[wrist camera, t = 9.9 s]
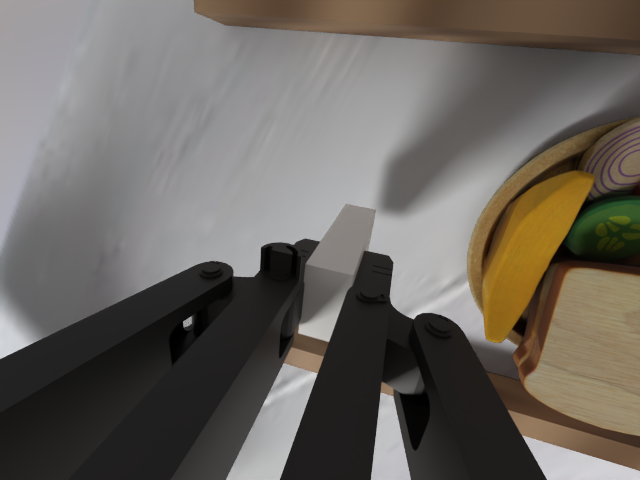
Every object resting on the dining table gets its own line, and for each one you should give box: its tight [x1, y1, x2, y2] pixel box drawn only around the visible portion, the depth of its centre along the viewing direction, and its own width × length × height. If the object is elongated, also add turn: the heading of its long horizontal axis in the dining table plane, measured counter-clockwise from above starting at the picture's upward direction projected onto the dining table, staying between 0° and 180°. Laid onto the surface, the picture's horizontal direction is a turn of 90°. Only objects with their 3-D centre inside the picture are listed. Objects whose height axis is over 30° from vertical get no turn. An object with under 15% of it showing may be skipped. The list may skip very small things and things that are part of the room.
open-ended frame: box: [194, 0, 640, 471], centre depth 13 cm, size 34×20×5 cm, turn 84°
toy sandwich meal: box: [467, 117, 640, 436], centre depth 13 cm, size 12×14×5 cm
